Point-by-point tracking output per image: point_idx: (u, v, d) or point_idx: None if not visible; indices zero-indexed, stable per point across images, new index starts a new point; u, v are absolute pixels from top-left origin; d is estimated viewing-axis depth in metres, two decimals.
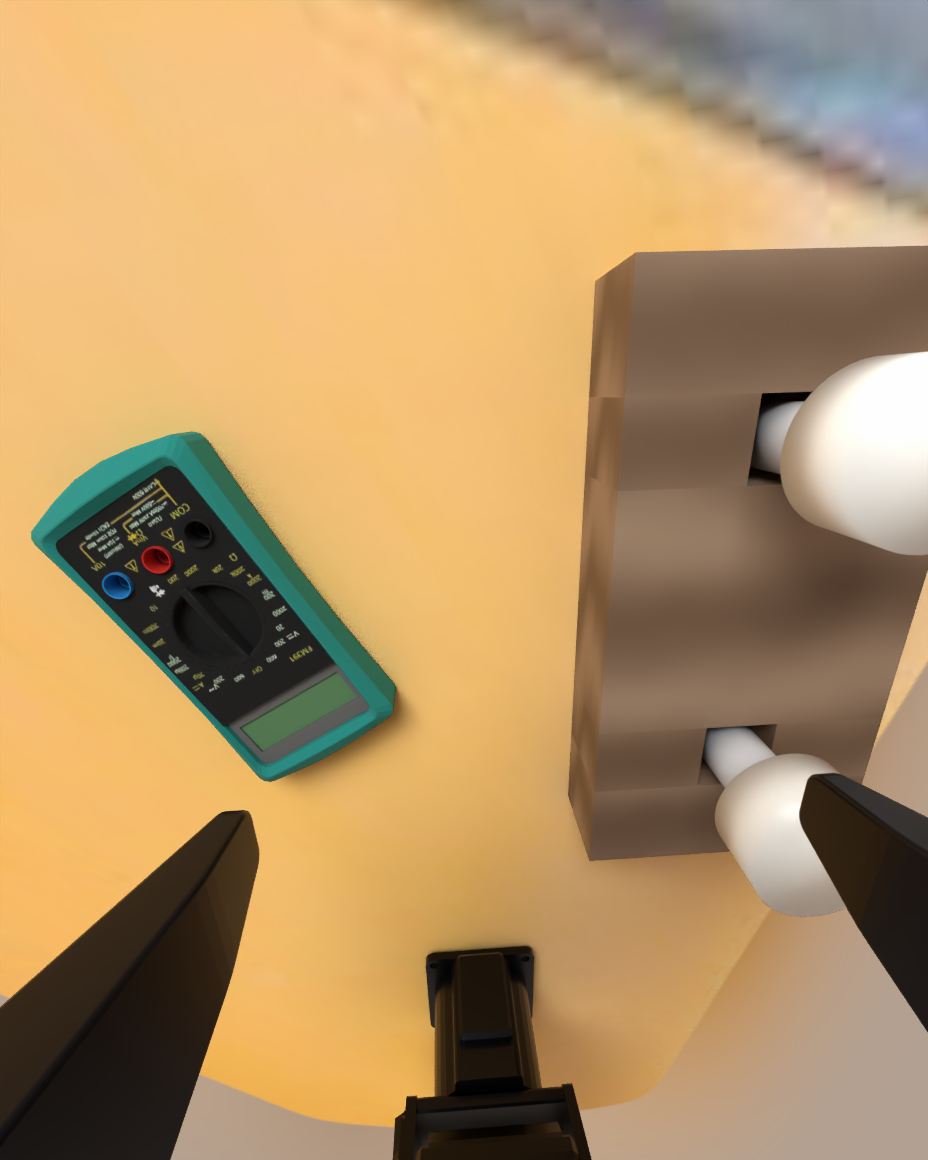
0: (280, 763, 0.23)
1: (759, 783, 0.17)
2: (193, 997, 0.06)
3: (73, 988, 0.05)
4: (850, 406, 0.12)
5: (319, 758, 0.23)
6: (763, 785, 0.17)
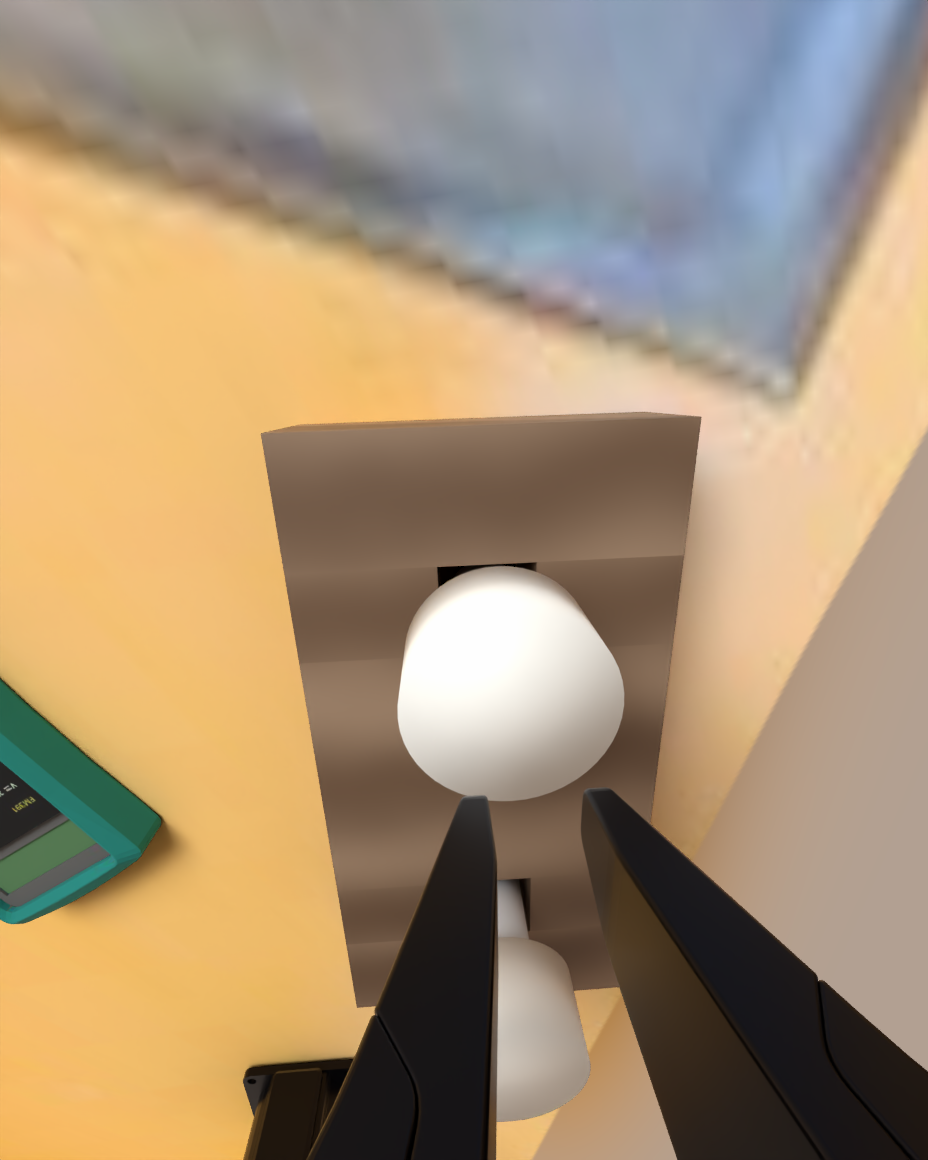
0: (25, 908, 0.21)
1: None
2: (497, 973, 0.06)
3: (436, 960, 0.05)
4: (411, 648, 0.11)
5: (68, 901, 0.22)
6: None
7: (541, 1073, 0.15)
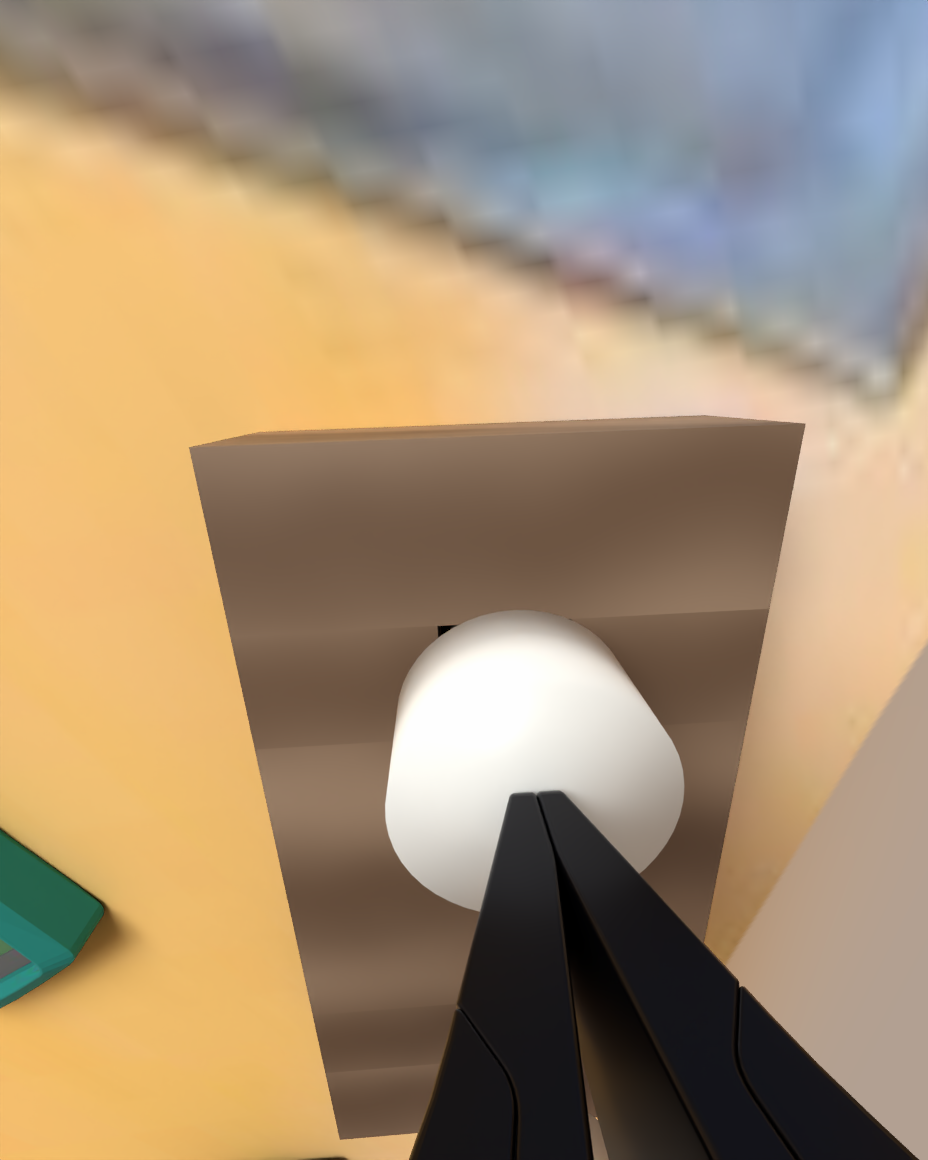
0: None
1: None
2: None
3: (509, 955, 0.05)
4: (403, 724, 0.08)
5: None
6: None
7: None
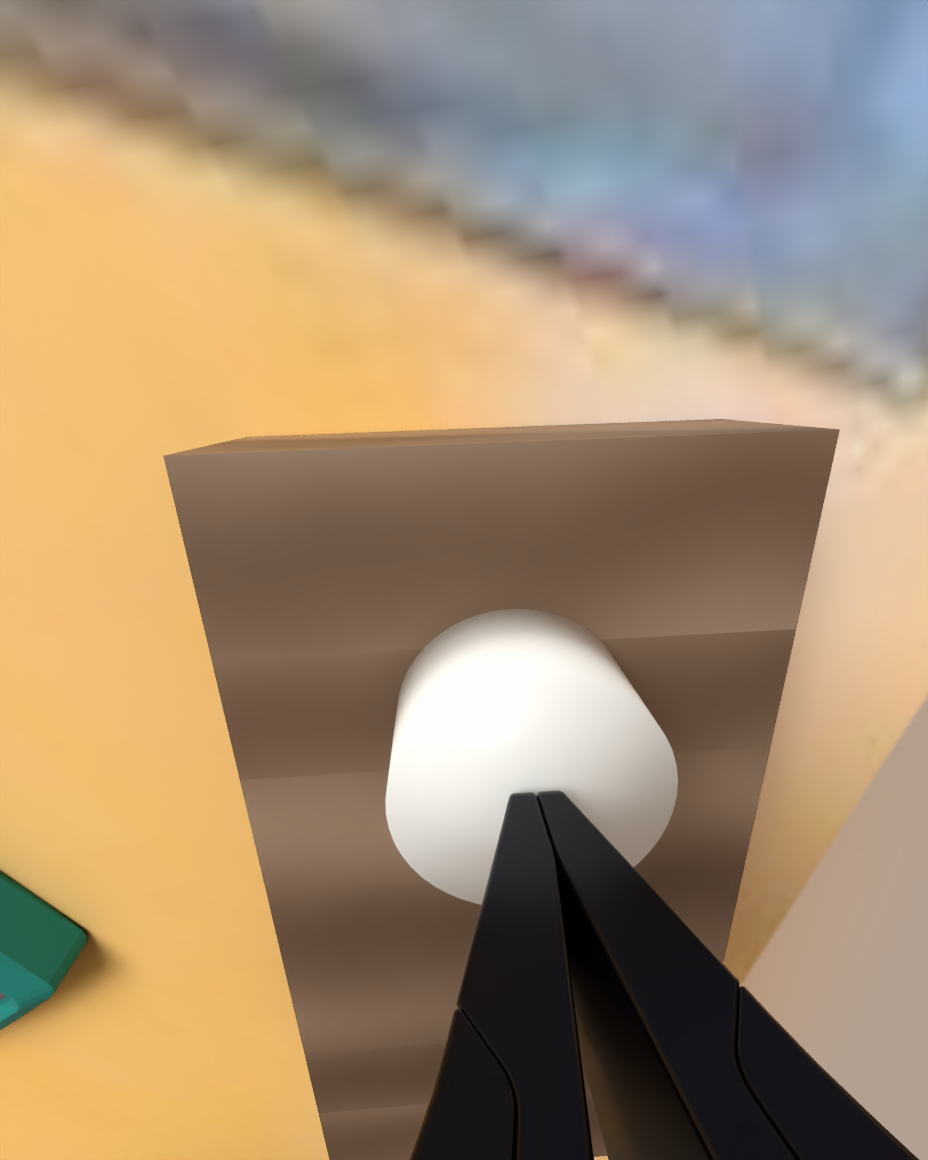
0: None
1: None
2: None
3: (509, 956, 0.05)
4: (403, 720, 0.08)
5: None
6: None
7: None
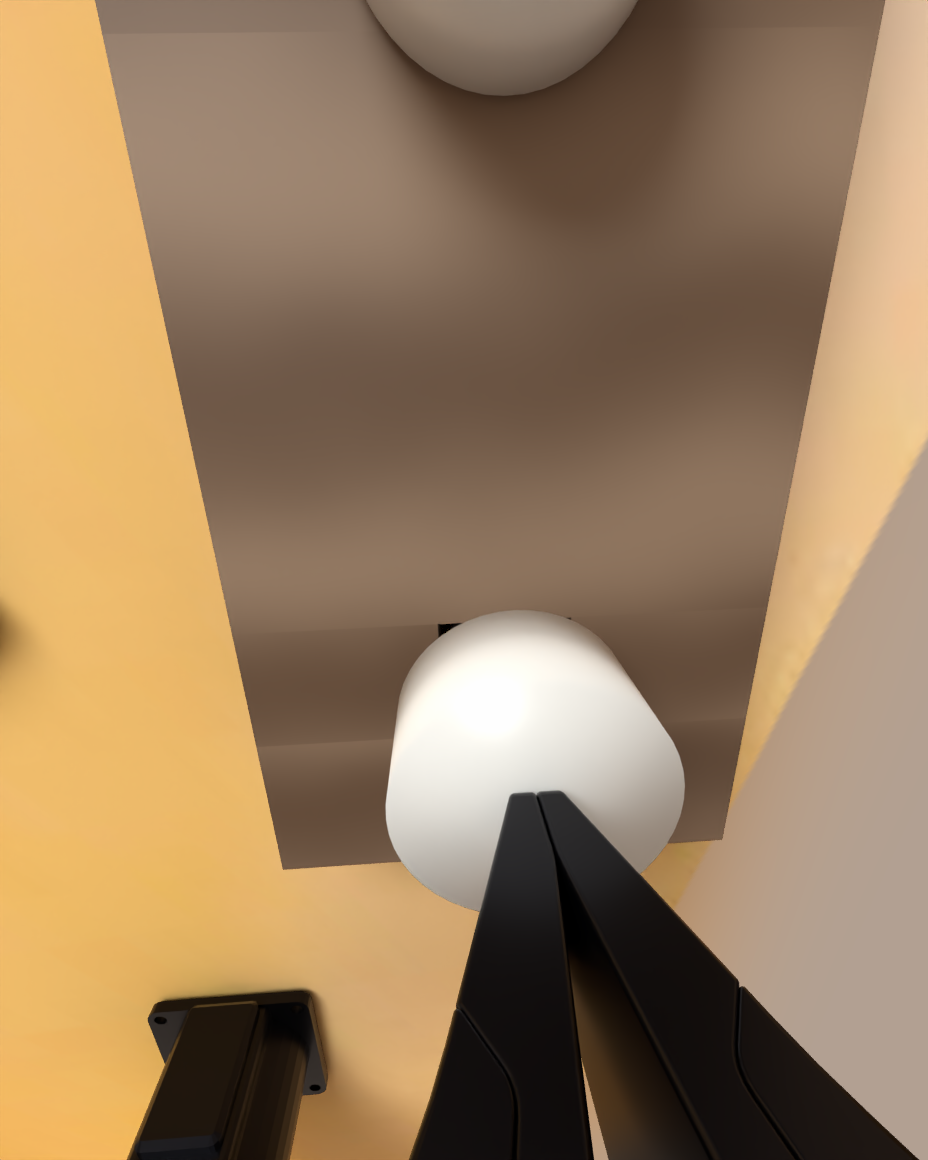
0: None
1: (436, 659, 0.09)
2: None
3: (509, 956, 0.05)
4: None
5: None
6: (439, 661, 0.09)
7: (592, 805, 0.08)
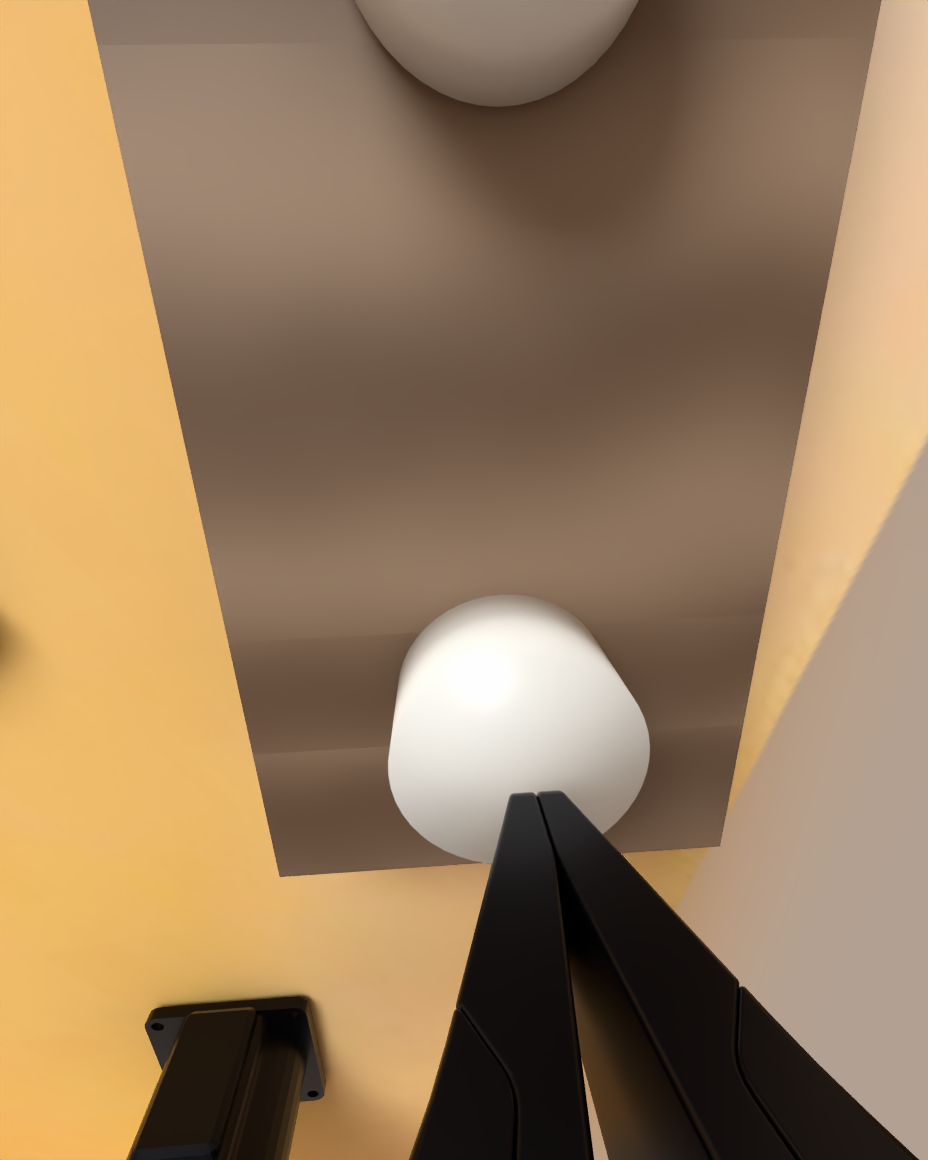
0: None
1: (433, 637, 0.10)
2: None
3: (509, 955, 0.05)
4: None
5: None
6: (435, 638, 0.10)
7: (569, 762, 0.09)
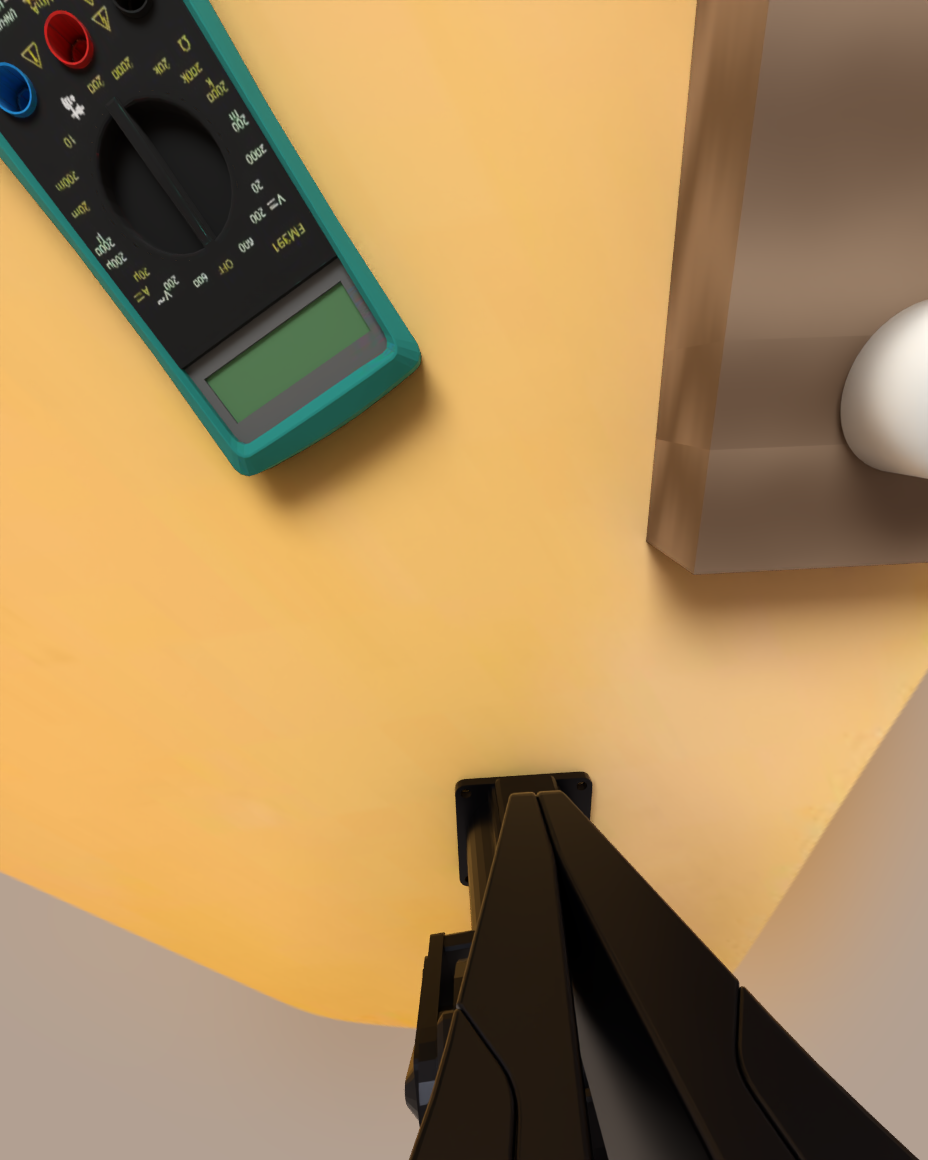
0: (262, 437, 0.16)
1: (912, 316, 0.13)
2: None
3: (510, 955, 0.05)
4: None
5: (317, 432, 0.16)
6: (919, 314, 0.13)
7: None
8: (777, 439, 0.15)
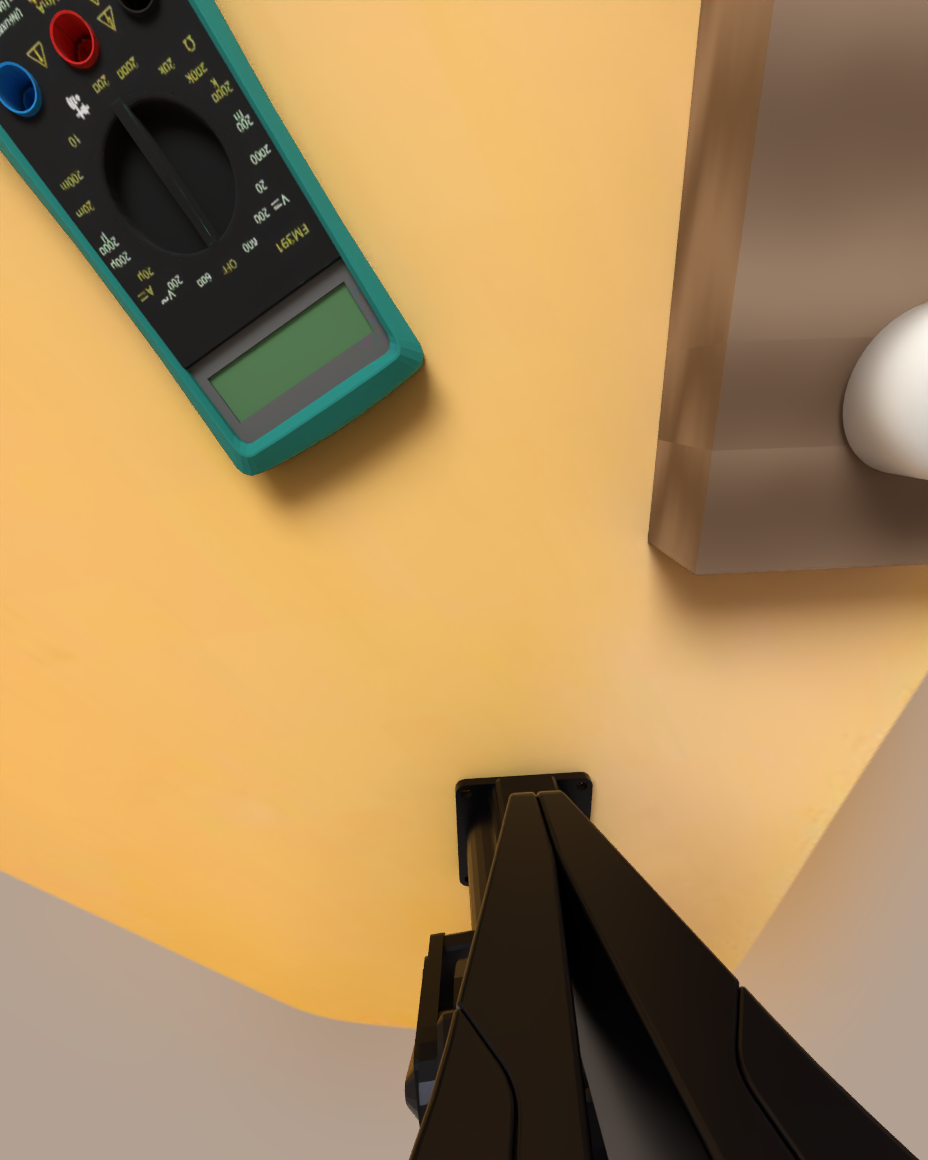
0: (265, 437, 0.16)
1: (915, 318, 0.13)
2: None
3: (509, 955, 0.05)
4: None
5: (319, 432, 0.16)
6: (922, 316, 0.13)
7: None
8: (779, 440, 0.15)
